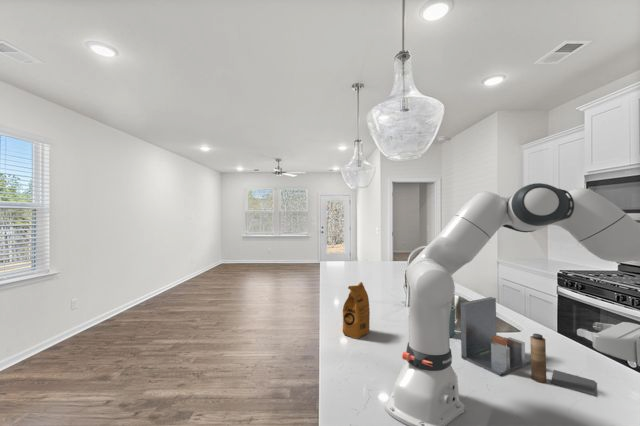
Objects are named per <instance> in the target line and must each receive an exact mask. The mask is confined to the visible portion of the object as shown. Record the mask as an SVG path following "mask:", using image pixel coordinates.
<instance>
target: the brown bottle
mask: <svg viewBox="0 0 640 426" xmlns="http://www.w3.org/2000/svg"><path fill="white" fill-rule="evenodd" d="M546 345H547V344H546V338H545V337H543V335H542V334H540V333H532V335H530V360H531V364H530V369H531V370H530V371H531V372H530V373H531V374H530V375H531V376H530V377H531V379H532V380H533V382H536V383H541V384H546V383H547V352H546V349H547V348H546Z"/></svg>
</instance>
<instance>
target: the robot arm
mask: <svg viewBox="0 0 640 426" xmlns="http://www.w3.org/2000/svg"><path fill="white" fill-rule="evenodd" d="M550 225H553V226H554V225H555V226H558V227H560V228H562V229H564V230H565V231H566V232H568V233H569V234H570V235H571V236H572V237H573V238H574V239H575V240H576V241H577V242H578V243H579V244H581V246H582V247H584V249H586V250H587V251H588V252H589V253H591V254H592V255H594V256H595V257H597V258H599V259H600V260H603V261H606V262H607V261H608V262H612V263H613V262H614V263H622V262H623V263H624V262H632V261H633V262H639V263H640V223H639V222H638V221H636V220H635V219H634V218H632V217H631V216H630V215H629V214H628V213H626V212H625V211H624V210H622V209H621V208H620V207H619V206H617V205H616V204H615V203H613V202H612V201H610V200H608V199H607V198H606V197H604V196H602V195H601V194H599V193H597V192H595V191H593V190H591V189H589V188H585V187H583V188H582V187H578V188H574V189H571V190H570V189H569V190H566V189H561V188H557V187H556V186H553V185H549V184H547V183H541V182H540V183H539V182H537V183H531V184H527V185H524V186H523V187H521V188H519V189H518V190H517V191H516V192H515V193H513V195H511V196H508V197H505V196H504V197H503V196H500V194H499V195H498V194H496V193H494V192H491V191H481V192H478V193H476V194H475V195H474V196H473V197H471V198H470V199H469V200H468V201H466V203H465V204H464V205H463V206H461V208H460V209H458V211H457V212H456V213H455V215H453V217H451V219H450V220H449V221H448V223H447V224H446V225H445V227H443V228H442V230H441V231H440V232H439V233H438V235H437V236H436V237H435V238H434V239H433V240H432V241H430V243H428V244H427V246H426V247H425V248H423V250H422V251H420V252H419V253H418V254H417V256H416V257H415V258H414V259H413V260H412V261H411V262H410V263H409V264H408V266H407V268H406V272H405V277H406V280H407V283H408V285H409V290H410V292H409V294H410V297H409V311H408V318H407V319H408V342H407V344H406V350H405V351H403V352H402V354H401V358H402V360H404V363H403V365H402V367H401V369H400V372H399V373H398V376H397V378H396V381H395V383H394V387H393V389H392V392H391V394H390V396H388V398H387V400H386V401H385V404H384V410H385V411H386V412H387V414H388V415H390V416H391V417H393V418H394V419H395V420H397V421H399V422H401V423H403V424H404V425H406V426H447V425H448V424H449V423H451V422H452V421H454V420H455V419H456V418H457V417H459V416H460V415H461V414H462V413H464V412H465V411H466V407H465V404H464V403H463V402H462V401H461V400H460V394H459V392H460V391H459V384H458V383H459V381H458V375H457V373H456V372H455V370H454V369H453V367H452V362H453V355H452V349H451V347H450V342H451V341H450V337H449V320H450V313H451V307H452V306H453V305H452V304H453V299H454V295H455V291H456V286H455V281H454V279H453V276H452V275H453V274H455V273H456V272H458V271H459V270H460V269H461V268H462V267H464V266H465V265H466V264H469V263H470V262H472V261H473V260H474V258H475V257H476V256H477V255H478V254H479V252H481V251H482V249H483V248H484V247H485V246H486V244H487V243H488V242H489V241H490V239H491V238H492V237H493V236H494V235H495V233H497V231H498V230H500V228H501V227H503V228H507V229H509V230H512V231H515V232H519V233H520V232H521V233H532V232H535V231H539V230H542V229H544V228H546V227H548V226H550ZM592 328H593V330H596V331H599V332H593V331H589V330H588V329H585V328H578V329H576V335H577V336H579V337H582V338H585V339H587V340H588V341H591V342H592V347H593V348H594V350H596V351H598V352H600V353H603V354H606V355H608V356H612V357H614V358H616V359H617V358H618V359H620V360H624V361H628V362H632V363H637V366H638V367H640V324H637V323H633V322H629V321H628V322H627V321H622V322H620V323H617V324H613V323H602V322H594V323H592Z"/></svg>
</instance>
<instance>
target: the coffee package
mask: <svg viewBox="0 0 640 426" xmlns="http://www.w3.org/2000/svg"><path fill="white" fill-rule="evenodd" d="M347 289H348V290H349V294H348V297H347V298H346V300H345V301H344V304H343V306H342V307H343V309H342V333H343V335H344V336H347V337H349V338H353V339H356V340H359V339H360V338H361V337H363V336H366V335H368V333H369V332H370V319H371V318H370V299H369V295H368V292H367V290H366V288H365V285H364V284H363V282H362V281H360V282H359V283H358V284H357V285H349V286H348V287H347Z"/></svg>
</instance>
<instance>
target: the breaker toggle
mask: <svg viewBox="0 0 640 426" xmlns="http://www.w3.org/2000/svg"><path fill="white" fill-rule="evenodd" d="M493 342H496V343H498V344H501V345H504V346H506V347H507V337H503V336H501V335H497V336H494V337H492V343H493Z"/></svg>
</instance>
